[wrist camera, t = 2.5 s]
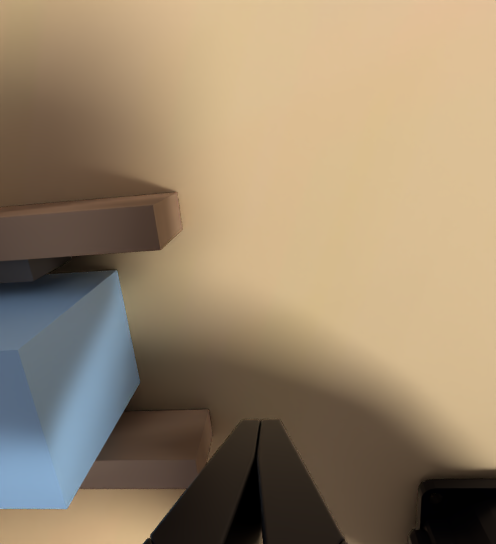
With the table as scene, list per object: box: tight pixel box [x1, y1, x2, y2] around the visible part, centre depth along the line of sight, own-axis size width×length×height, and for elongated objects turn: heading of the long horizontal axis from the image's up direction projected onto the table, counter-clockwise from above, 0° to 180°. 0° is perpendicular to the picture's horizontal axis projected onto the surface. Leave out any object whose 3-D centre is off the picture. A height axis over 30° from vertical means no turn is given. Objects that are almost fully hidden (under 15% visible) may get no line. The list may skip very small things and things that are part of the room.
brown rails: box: [0, 192, 213, 489], centre depth 14 cm, size 12×9×2 cm
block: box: [0, 270, 140, 509], centre depth 12 cm, size 6×4×6 cm
